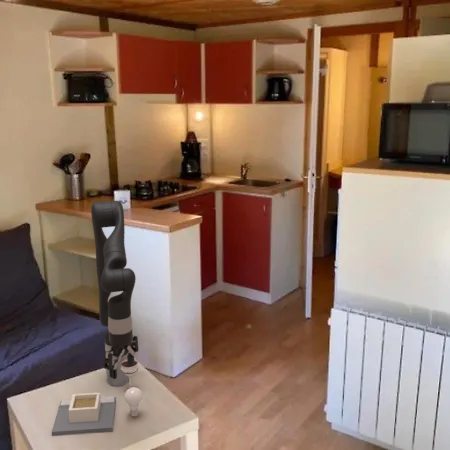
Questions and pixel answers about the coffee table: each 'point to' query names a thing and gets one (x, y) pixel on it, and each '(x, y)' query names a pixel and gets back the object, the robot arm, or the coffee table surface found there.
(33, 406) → the coffee table surface
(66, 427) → the socket board
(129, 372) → the wineglass
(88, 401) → the socket plunger
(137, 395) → the lightbulb
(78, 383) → the coffee table surface
